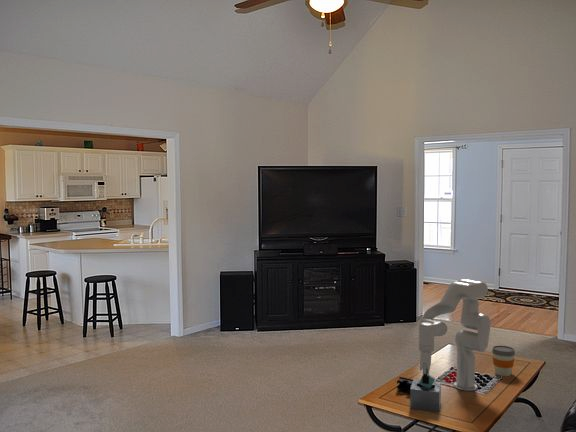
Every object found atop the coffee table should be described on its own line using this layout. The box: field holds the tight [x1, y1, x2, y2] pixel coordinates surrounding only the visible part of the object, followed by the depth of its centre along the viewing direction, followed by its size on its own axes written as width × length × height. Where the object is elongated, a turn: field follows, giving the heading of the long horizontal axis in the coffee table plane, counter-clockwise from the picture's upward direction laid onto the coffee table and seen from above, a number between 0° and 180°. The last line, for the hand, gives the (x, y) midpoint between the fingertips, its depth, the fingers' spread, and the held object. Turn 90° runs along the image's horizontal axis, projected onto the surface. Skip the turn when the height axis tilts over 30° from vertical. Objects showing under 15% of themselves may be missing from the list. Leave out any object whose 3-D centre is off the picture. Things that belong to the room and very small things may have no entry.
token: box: [419, 374, 436, 388], centre depth 271 cm, size 2×6×6 cm
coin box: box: [409, 378, 442, 413], centre depth 271 cm, size 14×14×10 cm
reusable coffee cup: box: [491, 345, 516, 377], centre depth 317 cm, size 12×13×15 cm
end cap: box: [396, 376, 413, 395], centre depth 290 cm, size 10×7×7 cm
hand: (425, 382), depth 271 cm, fingers closed on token, 1 cm apart
